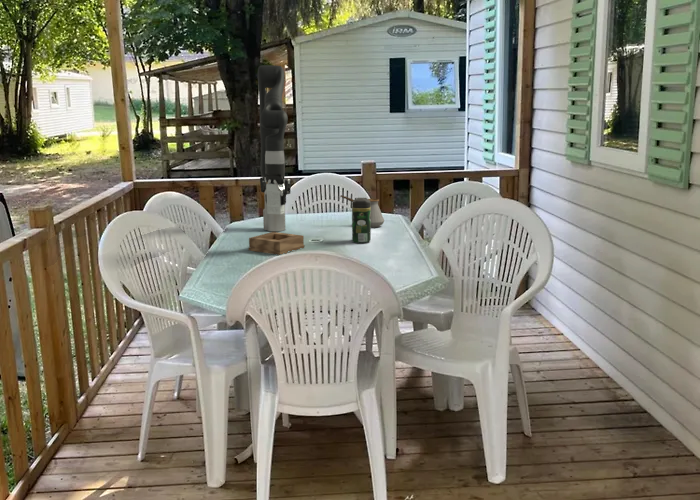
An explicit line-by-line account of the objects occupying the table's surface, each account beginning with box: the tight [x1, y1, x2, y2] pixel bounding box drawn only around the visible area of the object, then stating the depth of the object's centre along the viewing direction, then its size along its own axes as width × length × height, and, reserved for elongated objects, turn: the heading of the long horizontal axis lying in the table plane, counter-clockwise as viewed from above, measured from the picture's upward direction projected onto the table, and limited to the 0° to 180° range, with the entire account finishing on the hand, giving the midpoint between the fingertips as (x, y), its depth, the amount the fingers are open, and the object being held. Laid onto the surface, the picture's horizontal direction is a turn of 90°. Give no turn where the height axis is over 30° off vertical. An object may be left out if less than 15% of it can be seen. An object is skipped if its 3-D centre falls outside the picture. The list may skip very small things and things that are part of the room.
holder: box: [247, 231, 306, 256], centre depth 276 cm, size 16×16×5 cm
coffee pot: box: [338, 194, 385, 229], centre depth 323 cm, size 21×12×15 cm, turn 91°
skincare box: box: [266, 183, 286, 214], centre depth 272 cm, size 6×4×12 cm
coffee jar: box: [351, 197, 372, 244], centre depth 289 cm, size 10×8×19 cm
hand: (275, 204), depth 272 cm, fingers closed on skincare box, 6 cm apart
